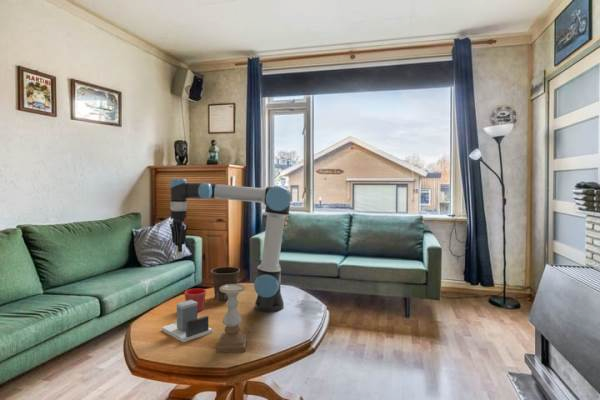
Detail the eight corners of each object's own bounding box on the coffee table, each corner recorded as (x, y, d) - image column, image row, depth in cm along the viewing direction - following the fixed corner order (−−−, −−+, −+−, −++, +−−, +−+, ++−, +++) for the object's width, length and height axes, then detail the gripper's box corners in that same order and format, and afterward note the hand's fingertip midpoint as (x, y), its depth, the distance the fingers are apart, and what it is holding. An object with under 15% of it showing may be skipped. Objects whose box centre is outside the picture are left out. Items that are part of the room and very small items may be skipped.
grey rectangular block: (176, 328, 156) (176, 303, 155) (191, 323, 161) (191, 299, 161) (182, 331, 152) (182, 306, 152) (197, 326, 158) (197, 302, 157)
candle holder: (220, 340, 148) (220, 283, 147) (246, 339, 149) (247, 283, 148) (216, 352, 137) (216, 291, 136) (245, 352, 138) (245, 290, 137)
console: (161, 330, 158) (161, 313, 157) (190, 321, 168) (190, 305, 168) (183, 342, 146) (183, 324, 145) (212, 332, 156) (212, 315, 156)
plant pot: (230, 303, 194) (230, 274, 193) (205, 300, 200) (205, 271, 199) (245, 295, 209) (245, 268, 209) (221, 292, 215) (221, 265, 214)
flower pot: (209, 306, 189) (209, 288, 189) (201, 314, 178) (201, 294, 178) (189, 305, 190) (189, 287, 190) (180, 313, 179) (180, 293, 179)
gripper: (164, 210, 176) (165, 257, 177) (178, 211, 167) (178, 261, 168) (178, 209, 182) (178, 255, 182) (192, 210, 173) (192, 259, 174)
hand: (178, 258), depth 175 cm, fingers closed
